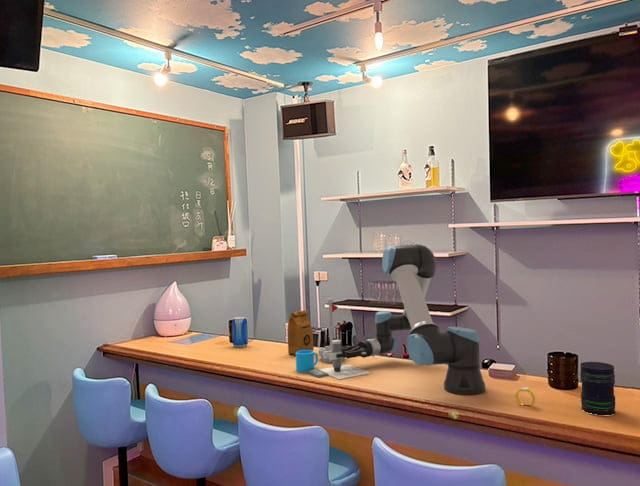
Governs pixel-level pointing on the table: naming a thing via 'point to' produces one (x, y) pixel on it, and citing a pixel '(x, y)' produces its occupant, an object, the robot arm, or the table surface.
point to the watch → (525, 390)
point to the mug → (305, 360)
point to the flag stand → (329, 348)
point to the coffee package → (299, 332)
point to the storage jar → (597, 388)
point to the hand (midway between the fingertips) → (326, 356)
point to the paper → (345, 372)
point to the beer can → (240, 332)
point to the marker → (335, 348)
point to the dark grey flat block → (317, 373)
